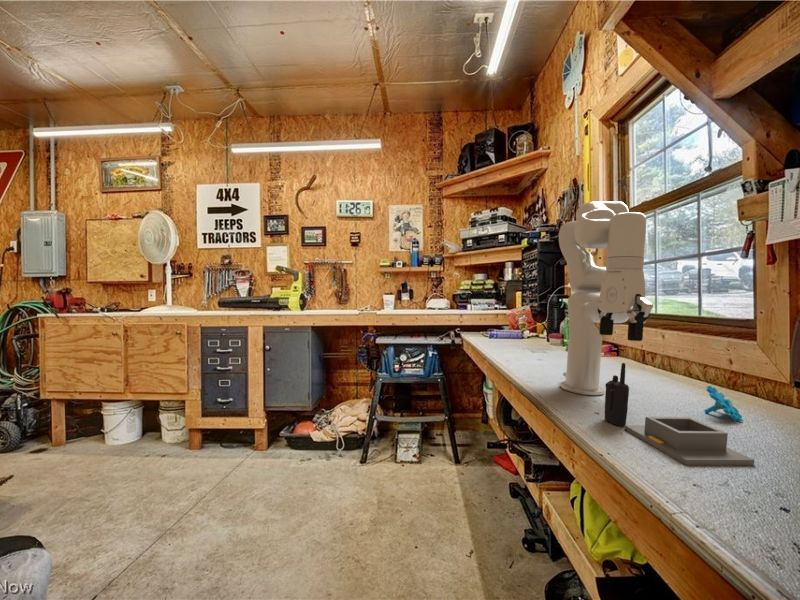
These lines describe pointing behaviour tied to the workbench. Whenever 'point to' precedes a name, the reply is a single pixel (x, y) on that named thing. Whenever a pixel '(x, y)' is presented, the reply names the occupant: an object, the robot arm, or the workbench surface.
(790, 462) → the workbench surface
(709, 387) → the blue branched piece
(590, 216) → the robot arm
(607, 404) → the two-way radio
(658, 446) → the charging cradle
